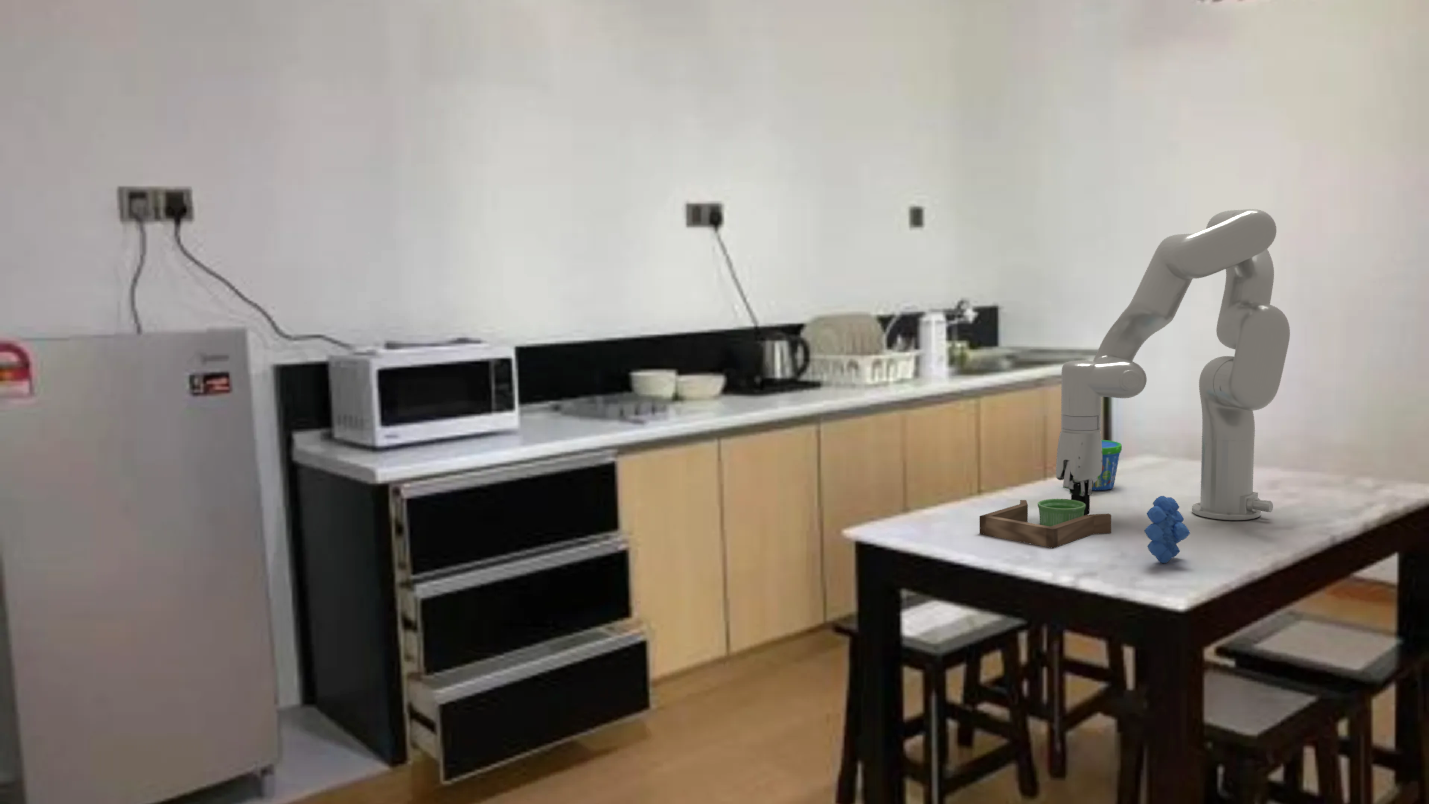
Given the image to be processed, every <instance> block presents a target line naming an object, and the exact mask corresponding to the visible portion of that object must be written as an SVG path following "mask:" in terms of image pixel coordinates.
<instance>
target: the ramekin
mask: <svg viewBox="0 0 1429 804" xmlns="http://www.w3.org/2000/svg"><path fill="white" fill-rule="evenodd" d="M1037 507H1038V514H1039V516H1038V517H1039V525H1044V526H1050V527H1051V526H1054V525H1057V524H1060V523H1063V522H1066V521H1069V520H1072V519H1075V518H1078V517H1081V516H1084V510H1085V507H1086V505H1085V503H1083V502H1080V501H1077V500H1071V498H1069V499H1068V498H1047V499H1042V500H1039V501H1038V502H1037Z"/></svg>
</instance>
